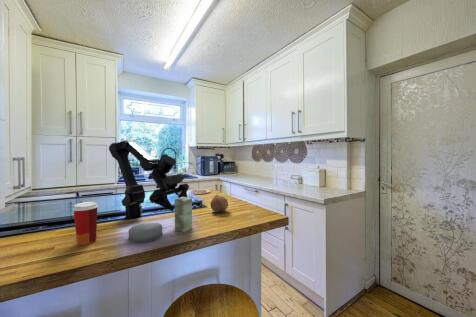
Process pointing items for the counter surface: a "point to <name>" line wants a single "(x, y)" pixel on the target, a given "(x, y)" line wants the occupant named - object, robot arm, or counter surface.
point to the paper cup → (85, 222)
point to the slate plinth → (145, 232)
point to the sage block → (183, 214)
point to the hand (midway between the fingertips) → (181, 207)
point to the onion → (219, 204)
